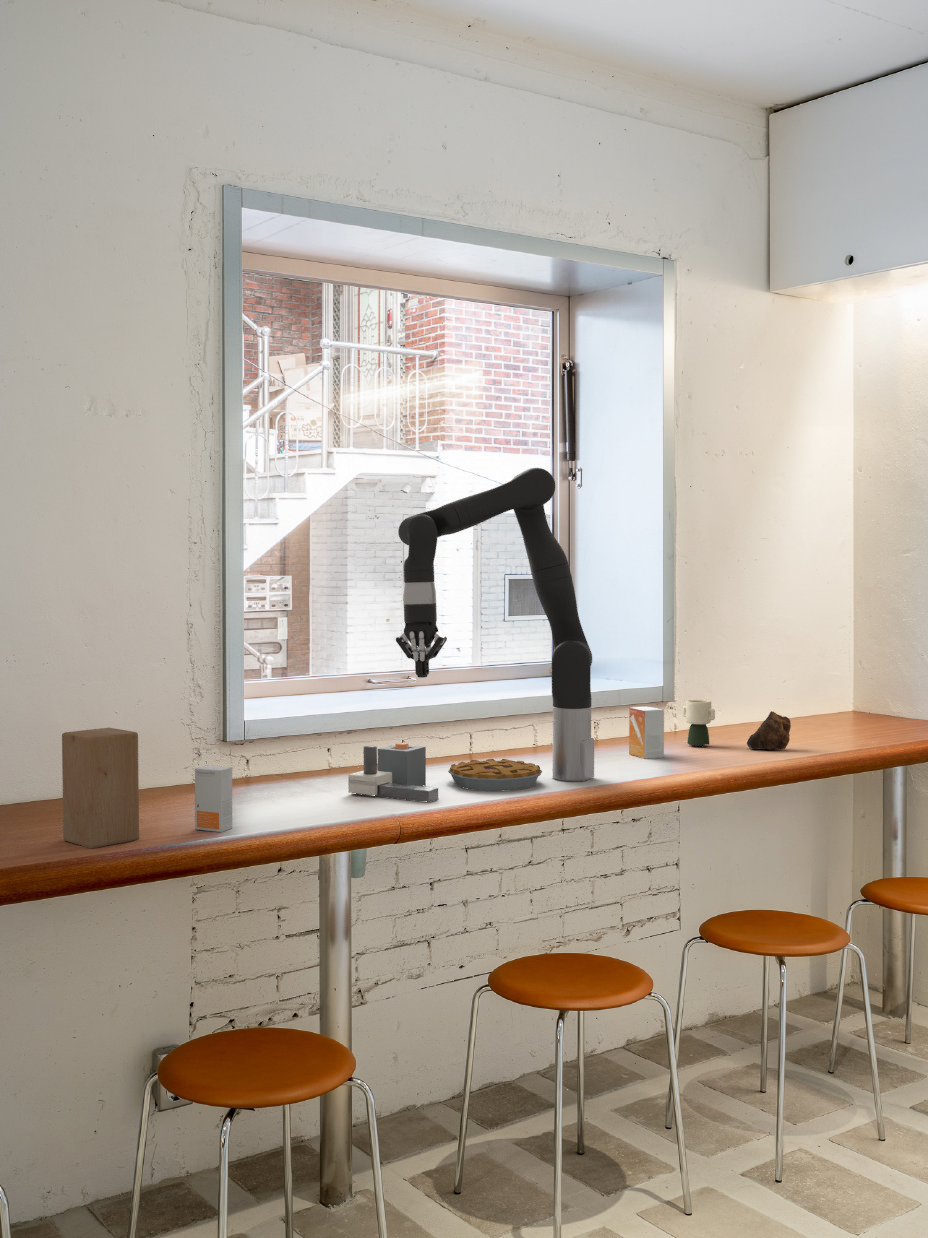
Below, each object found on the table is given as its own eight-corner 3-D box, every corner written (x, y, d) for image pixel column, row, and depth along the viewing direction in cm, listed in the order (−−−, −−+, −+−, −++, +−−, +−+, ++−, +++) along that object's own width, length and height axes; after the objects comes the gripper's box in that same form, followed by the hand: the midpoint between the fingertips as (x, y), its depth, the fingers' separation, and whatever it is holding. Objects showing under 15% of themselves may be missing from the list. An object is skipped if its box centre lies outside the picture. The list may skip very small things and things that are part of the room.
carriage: (392, 790, 254) (391, 745, 253) (374, 795, 247) (374, 750, 247) (366, 787, 257) (366, 743, 257) (348, 792, 251) (348, 747, 251)
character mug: (721, 747, 322) (722, 701, 321) (706, 749, 317) (707, 703, 317) (690, 743, 330) (690, 698, 329) (675, 745, 325) (675, 700, 325)
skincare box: (194, 830, 216) (193, 768, 216) (206, 825, 220) (206, 764, 220) (221, 833, 214) (220, 770, 214) (233, 828, 218) (233, 766, 217)
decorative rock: (789, 748, 319) (789, 710, 319) (792, 752, 313) (793, 713, 313) (745, 748, 320) (746, 710, 320) (748, 751, 314) (749, 712, 314)
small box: (628, 754, 308) (628, 707, 308) (648, 753, 311) (648, 706, 310) (644, 759, 301) (644, 710, 300) (664, 757, 303) (665, 709, 303)
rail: (438, 799, 246) (438, 788, 246) (428, 802, 243) (428, 791, 242) (362, 791, 256) (361, 780, 256) (351, 794, 252) (351, 782, 252)
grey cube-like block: (425, 785, 263) (425, 746, 262) (407, 791, 256) (407, 751, 255) (396, 782, 267) (396, 744, 266) (377, 787, 260) (377, 748, 259)
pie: (434, 780, 271) (434, 759, 271) (516, 773, 280) (516, 753, 279) (470, 796, 251) (470, 774, 251) (558, 789, 259) (558, 767, 259)
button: (410, 762, 262) (410, 743, 261) (403, 764, 259) (403, 745, 259) (399, 761, 263) (399, 742, 263) (392, 763, 260) (392, 744, 260)
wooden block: (90, 849, 201) (89, 737, 200) (62, 840, 208) (60, 732, 207) (140, 839, 208) (139, 731, 208) (111, 831, 215) (109, 727, 214)
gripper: (452, 601, 260) (455, 676, 261) (403, 602, 267) (406, 675, 267) (436, 602, 254) (439, 679, 254) (386, 603, 260) (389, 678, 261)
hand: (422, 677), depth 261 cm, fingers closed
